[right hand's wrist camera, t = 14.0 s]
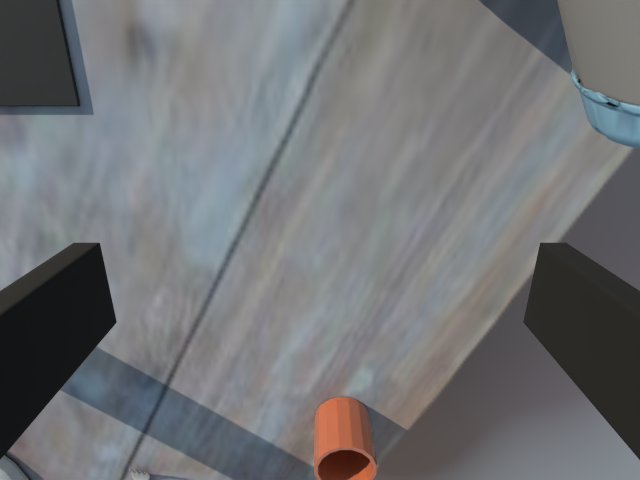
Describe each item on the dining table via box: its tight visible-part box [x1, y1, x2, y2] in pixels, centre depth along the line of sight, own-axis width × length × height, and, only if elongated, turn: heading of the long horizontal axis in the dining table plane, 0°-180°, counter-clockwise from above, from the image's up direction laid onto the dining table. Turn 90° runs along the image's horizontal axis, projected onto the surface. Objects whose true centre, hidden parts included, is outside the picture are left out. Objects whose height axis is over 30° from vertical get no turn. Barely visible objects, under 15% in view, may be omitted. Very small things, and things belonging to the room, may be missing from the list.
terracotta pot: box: [314, 397, 377, 480], centre depth 52 cm, size 7×7×8 cm
